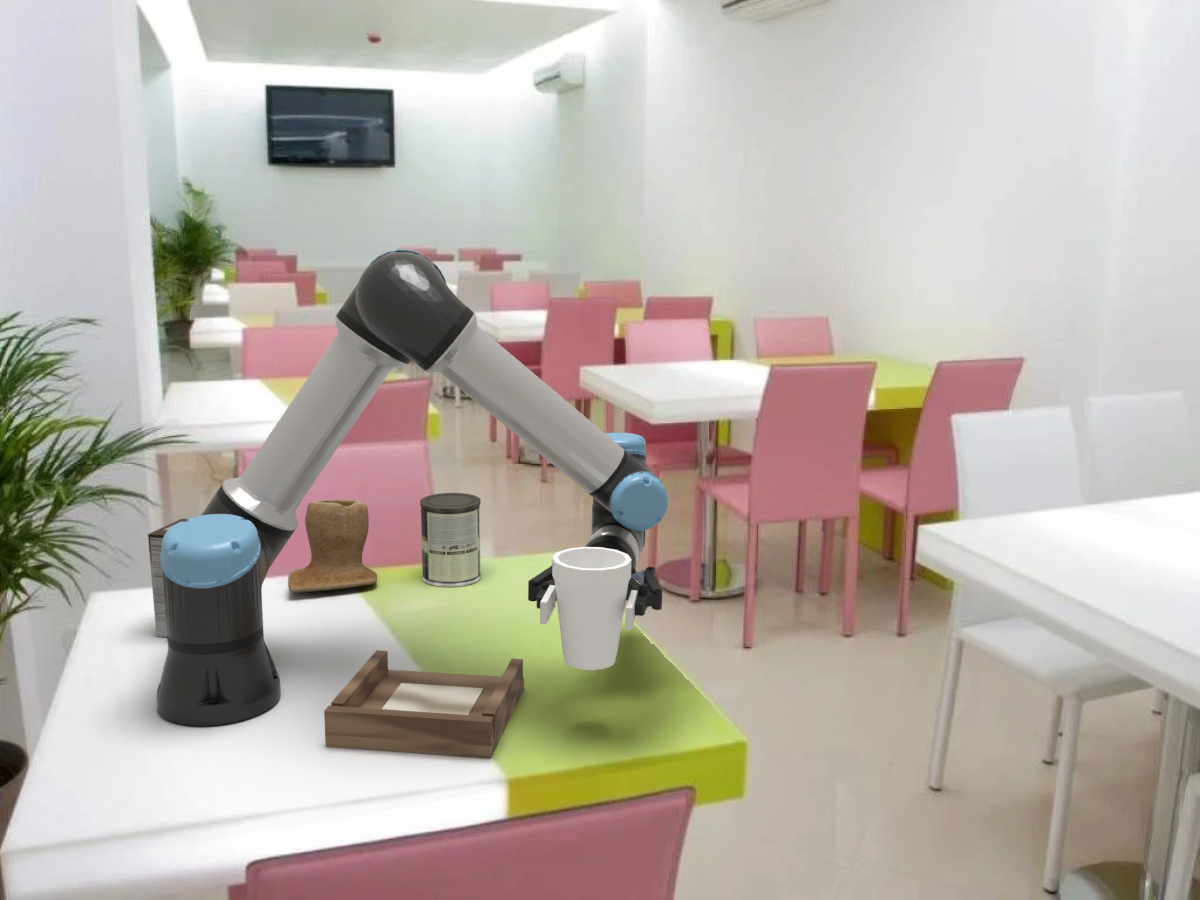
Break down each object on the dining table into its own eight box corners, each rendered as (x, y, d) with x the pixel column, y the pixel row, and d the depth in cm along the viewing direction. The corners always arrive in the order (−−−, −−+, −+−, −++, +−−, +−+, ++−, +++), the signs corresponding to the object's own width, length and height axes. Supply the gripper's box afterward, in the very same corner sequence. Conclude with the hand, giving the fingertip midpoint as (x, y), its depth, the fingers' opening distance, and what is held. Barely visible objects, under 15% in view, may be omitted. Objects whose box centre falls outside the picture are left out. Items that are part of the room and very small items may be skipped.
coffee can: (409, 578, 196) (407, 499, 193) (456, 565, 203) (455, 489, 201) (446, 591, 189) (445, 510, 186) (493, 578, 196) (492, 500, 194)
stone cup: (369, 571, 200) (366, 488, 197) (382, 591, 189) (380, 504, 186) (281, 580, 194) (277, 495, 191) (289, 602, 183) (285, 512, 180)
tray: (379, 679, 153) (378, 648, 152) (524, 688, 151) (524, 656, 150) (325, 746, 134) (324, 710, 133) (490, 758, 131) (490, 722, 130)
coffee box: (188, 616, 176) (181, 517, 173) (225, 619, 175) (219, 519, 172) (154, 637, 167) (146, 533, 164) (193, 640, 166) (186, 536, 163)
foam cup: (536, 655, 139) (537, 554, 136) (596, 640, 145) (598, 542, 142) (582, 681, 132) (584, 575, 129) (643, 664, 137) (646, 561, 135)
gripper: (688, 591, 153) (678, 653, 132) (529, 581, 156) (493, 639, 134) (690, 538, 152) (681, 591, 130) (529, 529, 155) (493, 579, 133)
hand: (585, 616), depth 132 cm, fingers closed on foam cup, 9 cm apart
